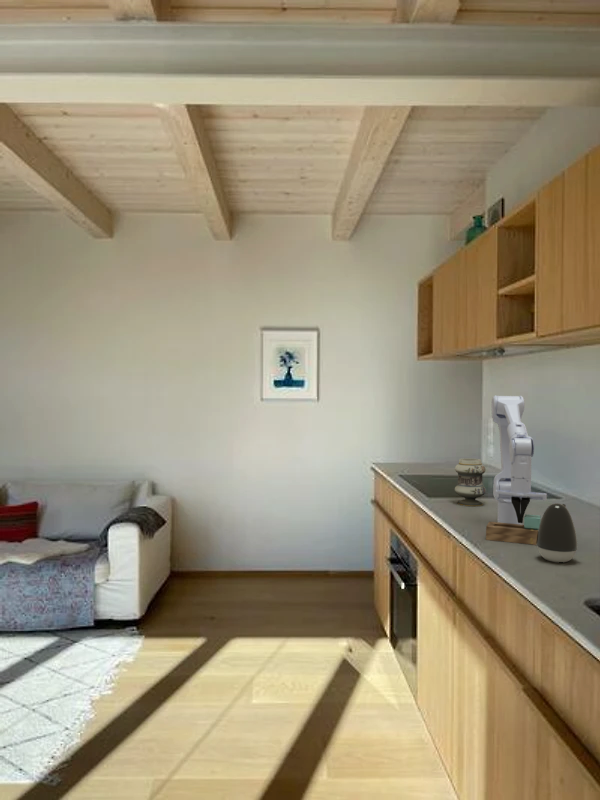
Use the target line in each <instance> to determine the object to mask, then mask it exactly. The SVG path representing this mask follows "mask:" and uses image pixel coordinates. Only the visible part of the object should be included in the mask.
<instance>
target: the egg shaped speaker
mask: <svg viewBox="0 0 600 800" xmlns="http://www.w3.org/2000/svg"><path fill="white" fill-rule="evenodd" d="M535 546H537V550H538V553H539V554H540V555H541V558H543V559H544V560H547V561H548V562H552V563H559V562H563V563H567V562H570V561H571V560H572V559H574V557H575V555H576V552H577V550H578V548H579V547H578V539H577V533H576V528H575V524H574V521H573V518H572V516H571V513H570V512H569V510H568V508H567V507H566V504H564V503H552V504H550V505H549V506H547V508H546V509H545V511H544V512H543V515H542V516H541V522H540V525H539V529H538V534H537V540H536V545H535Z"/></svg>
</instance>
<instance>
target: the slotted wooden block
mask: <svg viewBox="0 0 600 800" xmlns="http://www.w3.org/2000/svg"><path fill="white" fill-rule="evenodd" d="M522 524H523V523H521V524H511V523H500V522H498V521H497V522H496V521H488V523H487V524H486V528H485V540H486V541H494V542H495V541H496V542H503V541H504V542H505V543H513V544H514V543H515V544H525V545H535V546H537V545H536V540H537V534H538V530H535V529H525V528H524V524H523V525H522ZM504 542H503V543H504Z"/></svg>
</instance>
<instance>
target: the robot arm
mask: <svg viewBox="0 0 600 800" xmlns="http://www.w3.org/2000/svg"><path fill="white" fill-rule="evenodd" d="M524 411H525V398H524V397H523V396H522V395H496V394H495V395H493V396H492V398H491V418H492V422H494V423H496V424H497V427H498V430H499V446H500V464H501V471H500V472H498V473H497V474H495V476H494V478H493V487H492V492H493V498H494V499H495V500H497V522H500V523H511V524H522V525H524V517H525V513H526V511H527V508H528V506H529V504H530V501H531V500H533V501H534V500H536V501H537V500H538V501H543V502H545V501H546V502H547V499H548V498H547V497H548V493H545V492H535V491H532V458H533V457H534V454H535V443H534V439H533V437H532V436H529V434H528V429H527V426H526V425H525V423H524V422H522V421H521V419H522V417H523V415H524Z"/></svg>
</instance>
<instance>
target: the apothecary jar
mask: <svg viewBox="0 0 600 800" xmlns="http://www.w3.org/2000/svg"><path fill="white" fill-rule="evenodd" d="M458 461H459V462H458V464H456V465H455V468H454V470H455V472H456V473H457V485H456V486H455V487H454V492H455V494H457V496H460V497H462V498H464V499H461V500H459V501H457V503H458V504H457V505H459V504H460V506H463V505H465V507H481V506H483V505H484V504H483V502H481V501H479V500H477V498H479V497H480V498H481V497H482V496H484V495H485V494H486V492H487V489H486V487H485V486H484V484H483V474H485V472H486V470H487V469H486V466H485V465H483V463H482V459H478V458H459V460H458Z"/></svg>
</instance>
